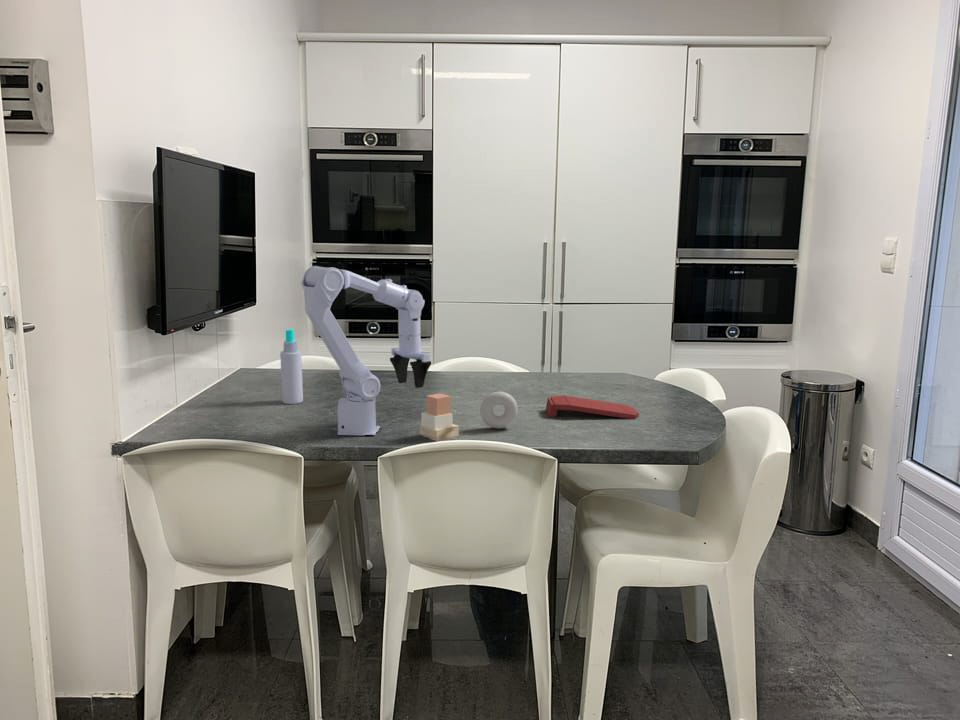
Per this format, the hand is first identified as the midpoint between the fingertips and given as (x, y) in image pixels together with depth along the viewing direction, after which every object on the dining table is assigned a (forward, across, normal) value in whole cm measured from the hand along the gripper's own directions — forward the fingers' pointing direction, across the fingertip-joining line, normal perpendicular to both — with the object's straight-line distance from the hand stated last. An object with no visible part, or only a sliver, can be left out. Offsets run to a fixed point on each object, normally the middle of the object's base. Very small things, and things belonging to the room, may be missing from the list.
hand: (410, 384), depth 196 cm
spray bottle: (+10, +42, +13) cm, 46 cm away
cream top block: (+8, -15, +3) cm, 17 cm away
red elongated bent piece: (+12, -25, -45) cm, 53 cm away
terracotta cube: (+4, -15, +2) cm, 16 cm away
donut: (+11, -20, -14) cm, 26 cm away
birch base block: (+11, -15, +2) cm, 19 cm away
